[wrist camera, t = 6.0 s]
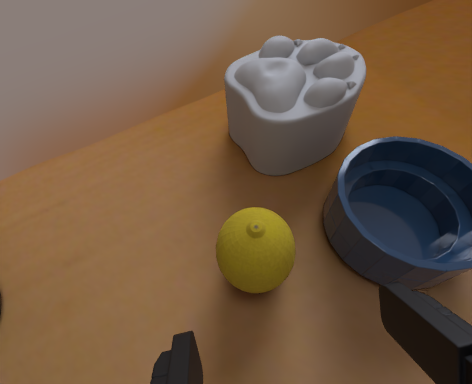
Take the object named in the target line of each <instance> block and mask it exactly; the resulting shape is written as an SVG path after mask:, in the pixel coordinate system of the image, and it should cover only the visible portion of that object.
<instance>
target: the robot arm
mask: <svg viewBox="0 0 472 384" xmlns="http://www.w3.org/2000/svg"><path fill="white" fill-rule="evenodd" d="M379 298H380V310H381V319H382V322H383V325H384V327H385V329H386V330H387V332H388V333H389V334H390V335H391V336H392V337H393V338H394V339H395V340H396V342H397V343H398V344H399V345H400V346H401V347H402V348H403V349H404V350H405V351H406V352H407V353H408V354H409V355H410V357H411V358H412V359H413V360H414V361H415V362H416V363H417V364H418V365H419V366H420V367H421V368H422V369H423V370H424V372H425V373H426V374H427V375H428V376H429V377H430V378H431V379H432V380H433V381H434V382H435V383H436V384H472V326H471V325H470V324H468V323H467V322H466V321H464V320H463V319H461V318H460V317H459V316H457V315H456V314H453V313H452V311H450V310H449V309H447V308H446V307H445V306H444V307H443V306H442V304H440V303H439V302H438V301H436V300H435V299H433V298H432V297H430V296H428V295H426V294H423V293H421V292H418V291H412V290H410V289H409V288H408V287H406V286H405V285H404V284H402V283H401V282H398V281H397V282H393V283H389V284H385V285H381V286H380V287H379ZM1 305H2V302H1V293H0V314H1ZM150 384H203V372H202V365H201V360H200V356H199V352H198V348H197V345H196V341H195V337H194V333H193V331H188V332H184V333H180V334H176V335H174V336H173V342H172V348H171V350H169V351H165V352H162V353H161V355H160V356H159V358H158V359H157V361H156V363H155V364H154V368H153V373H152V380H151V382H150Z"/></svg>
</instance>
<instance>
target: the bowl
mask: <svg viewBox="0 0 472 384" xmlns="http://www.w3.org/2000/svg"><path fill="white" fill-rule="evenodd" d="M323 222H324V223H323V224H324V227H325V230H326V233H327V236H328V239H329V241H330V243H331V244H332V246H333V247H334V249H335V250H336V251H337V253H338V254H339V256H340V257H341V259H343V261H345V262H346V263H347V264H348V265H349V266H351V267H352V268H353V269H354V270H355V271H357V272H358V273H359V274H360V275H362V276H364V277H366V278H368V279H370V280H372V281H374V282H377V283H379V284H381V285H385V284H389V283H393V282H397V281H398V282H401V283H402V284H404V285H405V286H406V287H408V288H409V289H410V290H415V289H422V288H428V287H432V286H435V285H437V284H439V283H441V282H444V281H446V280H448V279H450V278H453V277H455V276H457V275H459V274H462V273H464V272H466V271H468V270H471V269H472V164H471V163H470V162H469V161H468V160H467V159H465V158H464V157H462V156H460V155H458V154H456V153H455V152H453V151H451V150H449V149H447V148H445V147H443V146H441V145H438V144H434V143H431V142H428V141H424V140H421V139H417V138H407V137H387V138H379V139H374V140H372V141H369V142H367V143H365V144H362V145H360V146H358V147H356V148H355V149H354V150H353V151H352V152H351V153H350V154H349V155H348V156H347V157H346V158H345V159H344V161H343V163H342V165H341V168H340V170H339V172H338V174H337V177H336V179H335V181H334V183H333V186H332V188H331V190H330V192H329V195H328V197H327V199H326V202H325V204H324V216H323Z"/></svg>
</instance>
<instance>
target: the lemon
mask: <svg viewBox="0 0 472 384" xmlns="http://www.w3.org/2000/svg"><path fill="white" fill-rule="evenodd" d="M216 258H217V261H218V265H219V268H220V270H221V272H222V273H223V275H224V276H225V278H226V279H227V280H228V281H229V282H230V283H231V284H232V285H233V286H235V287H236V288H238V289H240V290H242V291H245V292H250V293H263V292H267V291H270V290H272V289H274V288H276V287H277V286H279V285H280V284H281V283H282V282H283V281H284V280H285V279H286V278H287V277H288V275H289V273H290V271H291V269H292V267H293V264H294V259H295V241H294V238H293V235H292V232H291V230H290V228H289V226H288V225H287V223H286V222H285V221H284V220H283V219H282V218H281V217H280V216H279V215H278V214H276V213H274V212H273V211H271V210H268V209H265V208H259V207H251V208H245V209H243V210H240V211H238V212H236V213H235V214H233V215H232V216H231V217H229V219H228V220H227V221H226V222H225V223H224V225H223V226H222V228H221V230H220V232H219V235H218V239H217V244H216Z"/></svg>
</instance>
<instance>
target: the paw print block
mask: <svg viewBox="0 0 472 384" xmlns="http://www.w3.org/2000/svg"><path fill="white" fill-rule="evenodd" d="M365 77H366V66H365V62H364V59H363V57H362V56H361V54H360V53H359V52H357V51H356V50H354V49H352V48H350V47H348V46H345V45H344V44H338V43H333V42H331V41H330V40H327V39H323V38H317V39H314V40H299V39H297V40H295V41H292V40H291V39H289V38H287V37H284V36H274V37H272V38H270V39H269V40H268V41H266V42H265V43H264V45H263V47H262V48H261V50H259V51H257V52H254V53H252V54H250V55H247V56H245V57H243V58H240V59H239V60H237V61H235V62H233V63H232V64H231V65H230V66H229V67H228V69H227V71H226V74H225V79H224V80H225V91H226V104H227V114H228V125H229V134H230V137H231V138H232V140H233V141H234V142H235V143H236V144H237V145H238V146H240V147H241V148H242V150H243V151H244V152H245V154H246V156H247V158H248V160H249V162H250V164H251V165H252V166H253V168H254V169H255V170H257V171H258V172H260V173H263V174H266V175H273V176H279V175H285V174H289V173H292V172H295V171H297V170H300V169H302V168H305V167H307V166H310V165H312V164H314V163H316V162H318V161H319V160H321V159H323V158H325V157H326V156H328V155H330V154H331V153H332V152H333V151H334V150H335V149H336V148H337V146H338V144H339V143H340V141H341V139H342V137H343V134H344V132H345V129H346V127H347V124H348V122H349V119H350V117H351V114H352V112H353V109H354V106H355V104H356V101H357V99H358V96H359V94H360V91H361V89H362V86H363V84H364V81H365Z"/></svg>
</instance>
